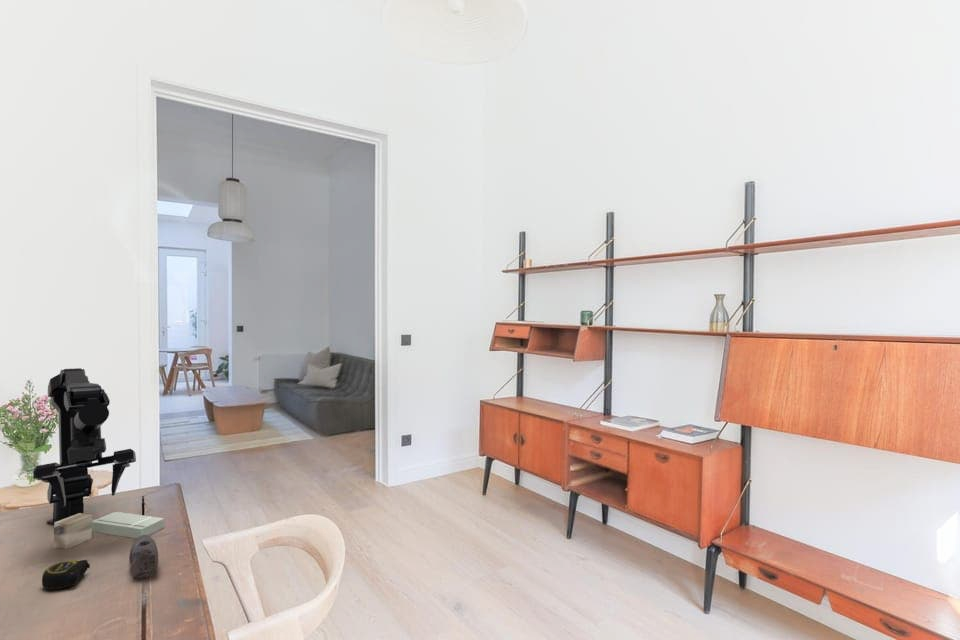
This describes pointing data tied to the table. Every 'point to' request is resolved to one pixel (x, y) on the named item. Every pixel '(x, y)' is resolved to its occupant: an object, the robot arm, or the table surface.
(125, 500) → the table surface
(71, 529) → the stacked beige grey blocks
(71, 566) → the tape measure
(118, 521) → the painted board
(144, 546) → the perforated stone tool
